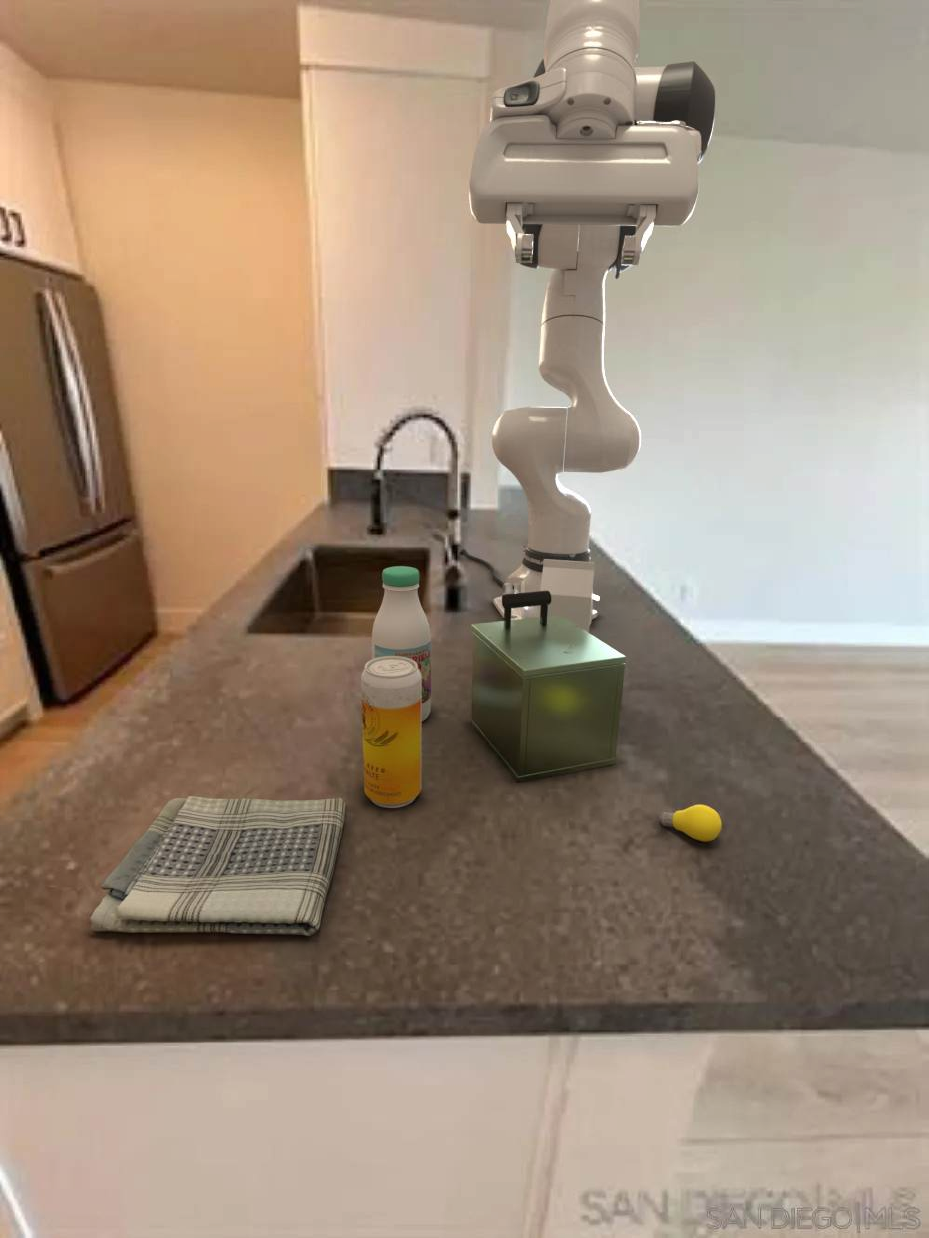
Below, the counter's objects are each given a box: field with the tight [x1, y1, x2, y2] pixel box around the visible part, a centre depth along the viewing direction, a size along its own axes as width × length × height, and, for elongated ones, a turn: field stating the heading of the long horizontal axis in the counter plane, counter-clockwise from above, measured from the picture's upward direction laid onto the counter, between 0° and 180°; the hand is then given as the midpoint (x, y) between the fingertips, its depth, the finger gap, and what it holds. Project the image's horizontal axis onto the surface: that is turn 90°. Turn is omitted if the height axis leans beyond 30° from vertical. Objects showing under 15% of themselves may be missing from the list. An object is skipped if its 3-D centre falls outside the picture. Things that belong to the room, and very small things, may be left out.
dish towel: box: [89, 795, 347, 937], centre depth 60 cm, size 19×18×3 cm
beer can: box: [360, 656, 423, 809], centre depth 70 cm, size 6×6×15 cm
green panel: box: [470, 591, 627, 677], centre depth 79 cm, size 15×13×5 cm
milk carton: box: [539, 559, 596, 634], centre depth 98 cm, size 7×7×19 cm
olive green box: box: [470, 632, 626, 784], centre depth 82 cm, size 15×13×13 cm
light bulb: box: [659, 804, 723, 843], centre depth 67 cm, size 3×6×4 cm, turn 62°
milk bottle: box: [371, 565, 432, 722], centre depth 87 cm, size 8×8×20 cm
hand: (576, 260), depth 60 cm, fingers open, 8 cm apart
